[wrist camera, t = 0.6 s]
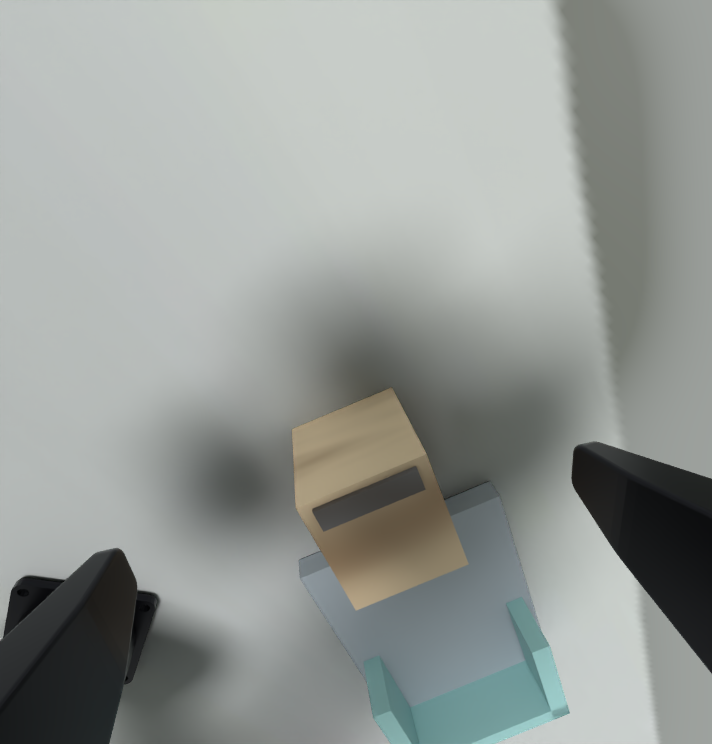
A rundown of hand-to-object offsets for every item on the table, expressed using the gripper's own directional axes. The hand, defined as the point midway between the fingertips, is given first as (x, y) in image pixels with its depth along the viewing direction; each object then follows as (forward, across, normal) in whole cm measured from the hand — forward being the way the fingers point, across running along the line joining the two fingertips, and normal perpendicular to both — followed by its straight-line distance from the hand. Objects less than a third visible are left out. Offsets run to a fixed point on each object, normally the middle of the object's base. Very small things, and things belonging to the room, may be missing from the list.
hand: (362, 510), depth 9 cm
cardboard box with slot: (+12, -1, +7) cm, 13 cm away
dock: (+12, -4, +18) cm, 22 cm away
